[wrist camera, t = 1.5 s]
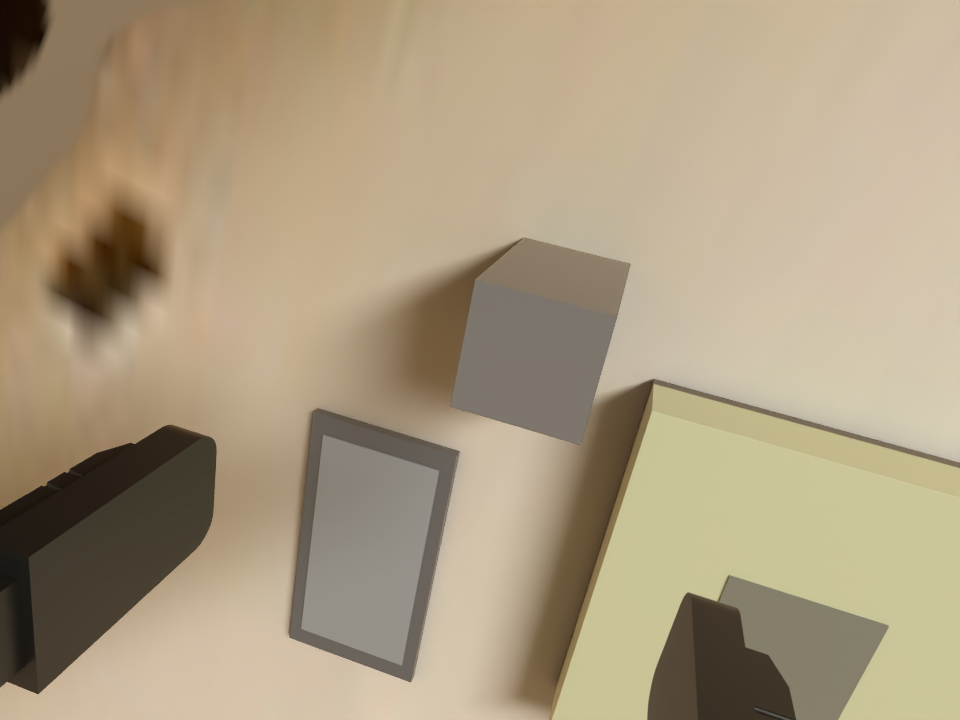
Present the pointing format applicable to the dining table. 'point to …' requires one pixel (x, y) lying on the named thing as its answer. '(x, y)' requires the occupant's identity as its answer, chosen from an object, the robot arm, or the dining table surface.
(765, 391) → the dining table surface
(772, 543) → the outlet plate
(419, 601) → the phone
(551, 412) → the block
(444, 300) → the dining table surface
